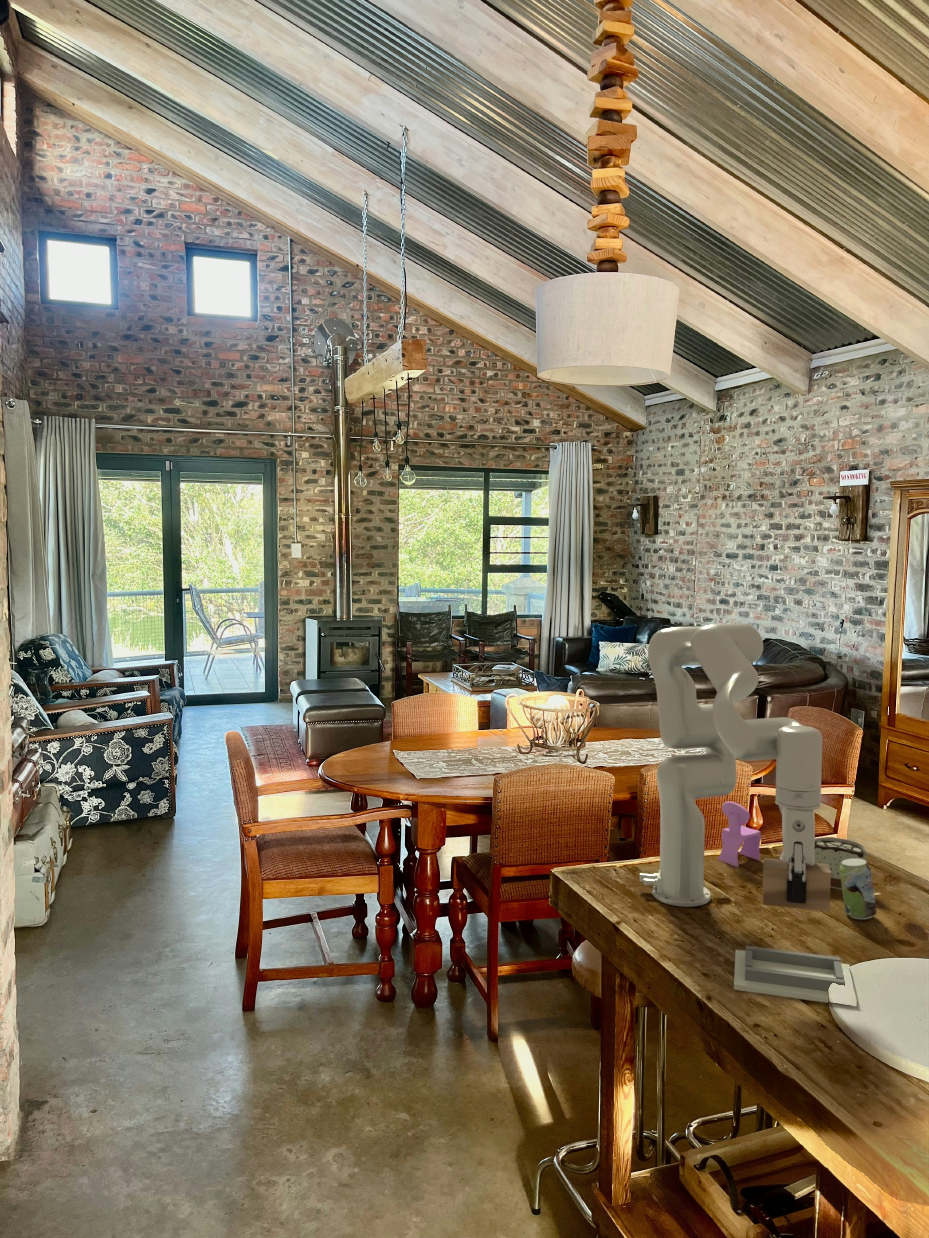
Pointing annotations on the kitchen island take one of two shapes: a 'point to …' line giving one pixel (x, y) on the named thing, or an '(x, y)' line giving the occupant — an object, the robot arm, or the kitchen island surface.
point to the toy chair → (738, 835)
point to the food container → (836, 855)
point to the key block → (815, 886)
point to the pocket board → (787, 973)
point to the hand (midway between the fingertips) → (795, 895)
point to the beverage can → (857, 888)
